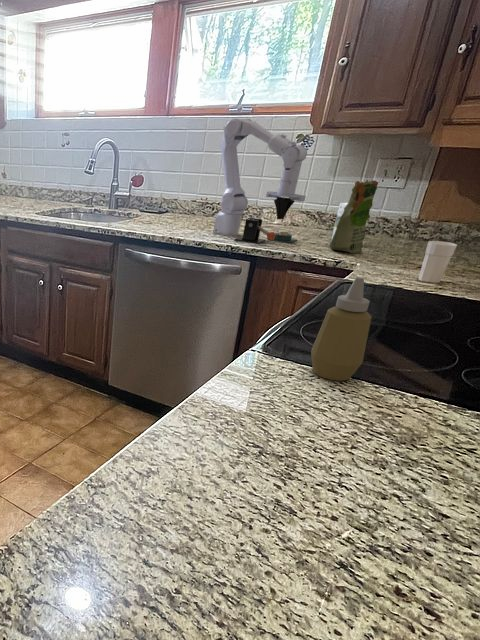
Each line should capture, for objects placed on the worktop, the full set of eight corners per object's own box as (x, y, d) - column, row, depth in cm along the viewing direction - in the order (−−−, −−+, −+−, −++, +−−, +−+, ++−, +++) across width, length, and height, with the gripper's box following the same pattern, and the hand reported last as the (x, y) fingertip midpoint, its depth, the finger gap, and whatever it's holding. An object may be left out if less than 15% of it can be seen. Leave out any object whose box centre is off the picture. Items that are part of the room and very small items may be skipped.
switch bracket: (265, 242, 203) (270, 219, 199) (257, 245, 198) (262, 222, 194) (241, 239, 209) (246, 216, 205) (233, 242, 203) (238, 219, 200)
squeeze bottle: (338, 365, 99) (367, 271, 91) (367, 384, 91) (401, 284, 84) (296, 365, 99) (322, 271, 91) (322, 384, 91) (352, 284, 84)
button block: (266, 241, 205) (268, 233, 204) (272, 239, 209) (273, 231, 208) (291, 245, 200) (293, 237, 198) (296, 242, 204) (298, 235, 202)
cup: (416, 276, 159) (428, 240, 155) (443, 280, 156) (457, 243, 151) (414, 280, 155) (427, 243, 150) (442, 284, 151) (456, 246, 146)
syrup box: (352, 242, 205) (363, 204, 199) (337, 242, 205) (348, 204, 199) (344, 239, 210) (354, 202, 204) (329, 239, 210) (339, 202, 204)
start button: (277, 235, 203) (278, 230, 203) (280, 234, 205) (281, 229, 205) (285, 236, 201) (286, 231, 201) (288, 235, 203) (289, 230, 203)
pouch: (357, 249, 194) (378, 178, 184) (368, 256, 184) (391, 181, 174) (323, 246, 197) (342, 177, 187) (333, 253, 187) (353, 180, 176)
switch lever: (273, 240, 198) (278, 234, 197) (270, 242, 196) (275, 235, 195) (249, 225, 203) (254, 218, 201) (246, 225, 201) (251, 219, 199)
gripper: (314, 182, 188) (304, 221, 193) (278, 178, 199) (270, 215, 205) (302, 183, 184) (292, 222, 190) (265, 179, 196) (258, 216, 202)
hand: (280, 219), depth 197 cm, fingers closed
